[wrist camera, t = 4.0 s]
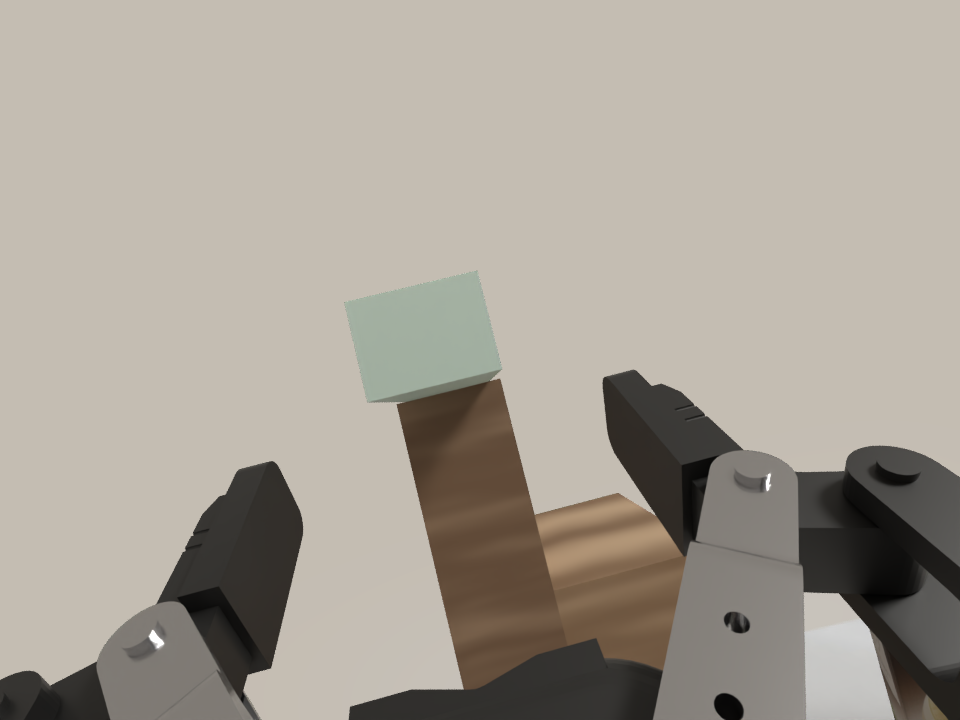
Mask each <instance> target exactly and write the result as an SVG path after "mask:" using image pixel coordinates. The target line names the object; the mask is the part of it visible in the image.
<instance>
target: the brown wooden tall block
mask: <svg viewBox="0 0 960 720" xmlns="http://www.w3.org/2000/svg"><path fill="white" fill-rule="evenodd" d="M397 408H398V412H399V416H400V421H401V425H402V429H403V433H404V437H405V442H406V446H407V450H408V454H409V459H410V463H411V467H412V471H413V475H414V480H415V484H416V488H417V493H418V497H419V501H420V505H421V510H422V514H423V518H424V522H425V527H426V531H427V535H428V539H429V544H430V548H431V552H432V556H433V560H434V565H435V569H436V573H437V578H438V582H439V586H440V590H441V595H442V599H443V603H444V607H445V611H446V616H447V620H448V624H449V628H450V633H451V636H452V641H453V645H454V650H455V654H456V658H457V662H458V667H459V671H460V675H461V679H462V683H463V688H464V690H471V689H477V688H480V687H482V686H484V685H486V684H487V683H489V682H491V681H493V680H494V679H496V678H498V677H499V676H501V675H503V674H504V673H506V672H508V671H510V670H511V669H513V668H515V667H516V666H518V665H520V664H522V663H523V662H525V661H527V660H528V659H530V658H532V657H534V656H535V655H537V654H541V653H544V652H548V651H551V650H555V649H559V648H562V647H566V646H569V645H573V644H576V643H580V642H584V641H587V640H591V639H594V638H597V641H598V644H599V646H600V649H601V651H602V654H603V656H604V658H617V659H625V660H632V661H636V662H640V663H644V664H647V665H650V666H653V667H655V668H658V669H661V670H663V669H664V664H665V659H666V654H667V650H668V645H669V640H670V635H671V630H672V625H673V620H674V616H675V611H676V606H677V601H678V596H679V591H680V586H681V582H682V577H683V572H684V567H685V562H686V557H687V556H685V557H684V556H683V555H682V553H681V552H680V550H679V549H678V547H677V546H676V544H675V543H674V541H673V540H672V538H671V537H670V535H669V534H668V532H667V531H666V529H665V528H664V526H663V525H662V523H661V522H660V520H659V519H658V518H657V516H655V515H653V514H652V513H650V512H648V511H646V510H645V509H643V508H642V507H640V506H639V505H637V504H635V503H634V502H632V501H630V500H629V499H627V498H625V497H624V496H622V495H620V494H619V493H616V494H612V495H609V496H605V497H601V498H597V499H594V500H589V501H586V502H582V503H578V504H574V505H570V506H567V507H563V508H559V509H555V510H551V511H548V512H544V513H540V514H536V515H534V511H533V507H532V503H531V499H530V495H529V491H528V487H527V483H526V479H525V475H524V472H523V467H522V463H521V459H520V455H519V451H518V448H517V444H516V440H515V436H514V432H513V428H512V424H511V420H510V416H509V412H508V408H507V405H506V400H505V396H504V392H503V388H502V384H501V380H500V379H497V380H493V381H489V382H485V383H481V384H477V385H473V386H469V387H465V388H461V389H457V390H452V391H448V392H444V393H440V394H436V395H432V396H428V397H424V398H420V399H416V400H412V401H408V402H404V403H400V404H397Z"/></svg>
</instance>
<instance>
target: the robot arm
mask: <svg viewBox="0 0 960 720" xmlns="http://www.w3.org/2000/svg"><path fill="white" fill-rule="evenodd" d="M603 394H604V403H605V412H606V423H607V431H608V436H609V440H610V443H611V446H612V448H613V451H614V453H615V454H616V456H617V458H618V459H619V460H620V462H621V464H622V465H623V467H624V468H625V469H626V471H627V473H628V474H629V475H630V477H631V479H632V480H633V481H634V483H635V485H636V486H637V488H638V489H639V491H640V492H641V494H642V495H643V496H644V498H645V500H646V501H647V503H648V504H649V506H650V507H651V509H652V510H653V511H654V513H655V515H656V516H657V518H658V519H659V520H660V522H661V523H662V525H663V526H664V528H665V529H666V531H667V532H668V534H669V535H670V537H671V538H672V540H673V541H674V543H675V544H676V546H677V547H678V549H679V550H680V552H681V553H682V555H683V556H684V557H685V556H687V557H686V562H685V567H684V572H683V577H682V582H681V586H680V591H679V596H678V601H677V606H676V611H675V616H674V620H673V625H672V630H671V635H670V640H669V645H668V650H667V654H666V659H665V664H664V669H663V670H661V669H658V668H655V667H653V666H650V665H647V664H644V663H640V662H636V661H632V660H625V659H617V658H604V656H603V654H602V651H601V649H600V646H599V644H598V641H597V638H594V639H591V640H587V641H584V642H580V643H576V644H573V645H569V646H566V647H562V648H559V649H555V650H551V651H548V652H544V653H541V654H537V655H535V656H534V657H532V658H530V659H528V660H527V661H525V662H523V663H522V664H520V665H518V666H516V667H515V668H513V669H511V670H510V671H508V672H506V673H504V674H503V675H501V676H499V677H498V678H496V679H494V680H493V681H491V682H489V683H487V684H486V685H484V686H482V687H480V688H477V689H471V690H409V691H405V692H401V693H398V694H394V695H391V696H387V697H384V698H380V699H377V700H373V701H369V702H366V703H363V704H359V705H355V706H352V707H350V713H349V720H806V694H805V643H804V595H803V594H804V592H813V593H839V594H840V595H841V596H842V598H843V599H844V600H845V601H846V602H847V603H848V604H849V605H850V607H851V608H852V609H853V610H854V611H855V613H856V614H857V615H858V616H859V617H860V618H861V619H862V621H863V622H864V623H865V624H866V625H867V626H868V628H869V629H870V630H871V631H872V632H873V633H874V634H875V636H876V637H877V638H878V639H879V640H880V641H881V643H882V644H883V645H884V646H885V647H886V648H887V649H888V651H889V652H890V653H891V654H892V655H893V656H894V658H895V659H896V660H897V661H898V662H899V663H900V664H901V666H902V667H903V668H904V669H905V670H906V671H907V673H908V674H909V675H910V676H911V677H912V678H913V679H914V681H915V682H916V683H917V684H918V685H919V686H920V688H921V689H922V690H923V691H924V692H925V693H926V694H927V696H928V697H929V698H930V699H931V700H932V701H933V703H934V704H935V705H936V706H937V707H938V708H939V710H940V711H941V712H942V713H943V714H944V715H945V716H946V718H947V719H948V720H960V477H959V476H957V475H955V474H954V473H953V472H951V471H950V470H948V469H947V468H945V467H944V466H942V465H941V464H939V463H938V462H936V461H934V460H933V459H931V458H929V457H927V456H925V455H922V454H920V453H917V452H914V451H911V450H907V449H903V448H898V447H891V446H869V447H864V448H860V449H858V450H855V451H854V452H852V453H851V454H850V455H849V456H848V458H847V461H846V467H845V471H839V472H794V470H793V469H792V468H791V467H790V466H789V465H788V464H787V463H785V462H783V461H782V460H780V459H779V458H777V457H774V456H772V455H769V454H766V453H762V452H757V451H749V450H743V449H742V448H741V447H740V446H739V445H737V443H736V442H734V441H733V440H732V439H731V438H730V437H729V436H728V435H727V434H726V433H725V432H724V431H723V430H721V429H720V428H719V427H718V426H717V425H716V424H715V423H714V422H713V421H712V420H711V419H710V418H709V417H705V414H704V413H703V412H702V411H701V410H700V409H699V408H698V407H697V406H696V407H695V406H694V404H693V403H692V402H691V401H690V400H689V399H688V398H687V397H686V396H684V394H683V393H681V392H680V391H678V390H675V389H673V388H670V387H668V386H666V385H663V384H658V385H654V386H651V385H650V384H649V383H648V382H647V381H646V380H645V379H644V378H643V377H642V376H641V375H640V374H639V373H638V372H637V371H636V370H630V371H626V372H623V373H619V374H615V375H611V376H607V377H604V378H603ZM193 535H194V536H191V538H190V539H189V541H188V543H187V546H186V547H185V549H186V551H185V552H183V553H182V555H181V557H180V559H179V561H178V563H177V565H176V567H175V569H174V571H173V573H172V575H171V576H170V578H169V581H168V582H167V584H166V586H165V588H164V590H163V592H162V594H161V596H160V598H159V600H158V602H157V604H156V605H154V606H151V607H149V608H147V609H145V610H143V611H141V612H140V613H138V614H136V615H135V616H133V617H132V618H131V619H129V620H128V621H127V622H125V623H124V624H123V625H122V626H121V627H120V628H119V629H118V630H117V631H116V632H115V633H114V634H113V635H112V636H111V638H110V639H109V640H108V641H107V643H106V644H105V645H104V647H103V649H102V651H101V652H100V654H99V657H98V660H97V662H95V663H93V664H91V665H89V666H88V667H86V668H84V669H82V670H80V671H78V672H76V673H74V674H72V675H70V676H68V677H66V678H64V679H62V680H60V681H58V682H56V683H55V684H53V685H51V686H50V685H49V684H48V683H47V682H46V681H45V680H44V679H43V678H42V677H41V676H40V675H39V674H38V673H36V672H34V671H23V672H19V673H15V674H13V675H10V676H8V677H5V678H3V679H1V680H0V720H261V719H260V717H259V715H258V713H257V712H256V710H255V708H254V707H253V705H252V703H251V701H250V700H249V698H248V697H247V695H246V694H245V692H244V691H243V689H244V685H245V682H246V678H247V675H248V674H252V673H255V672H259V671H263V670H267V669H270V668H271V666H272V662H273V658H274V654H275V650H276V645H277V641H278V637H279V633H280V629H281V624H282V620H283V616H284V612H285V608H286V603H287V599H288V595H289V591H290V587H291V583H292V578H293V574H294V570H295V566H296V561H297V557H298V553H299V549H300V545H301V541H302V536H303V522H302V517H301V513H300V510H299V508H298V506H297V504H296V502H295V500H294V498H293V495H292V493H291V492H290V489H289V487H288V485H287V483H286V481H285V479H284V477H283V475H282V473H281V471H280V469H279V467H278V465H277V464H276V463H275V462H273V461H271V462H266V463H262V464H258V465H254V466H250V467H246V468H242V469H239V470H238V471H237V473H236V474H235V477H234V479H233V481H232V483H231V485H230V487H229V489H228V491H227V493H226V495H223V496H220V497H218V498H217V499H216V501H215V502H214V503H213V504H212V505H211V506H210V507H209V508H208V509H207V510H206V511H205V512H204V513H203V514H202V516H201V518H200V520H199V522H198V524H197V526H196V528H195V530H194V532H193Z"/></svg>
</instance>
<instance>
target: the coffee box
mask: <svg viewBox="0 0 960 720" xmlns="http://www.w3.org/2000/svg"><path fill="white" fill-rule="evenodd" d="M870 632H871V636H872V639H873V643H874V646H875V650H876V653H877V657H878V661H879V664H880V668H881V671H882V675H883V679H884V682H885V686H886V689H887V693H888V696H889V700H890V704H891V707H892V711H893V714H894V718H895V720H948V719H947V718H946V716H945V715H944V714H943V713H942V712H941V711H940V710H939V708H938V707H937V706H936V705H935V704H934V703H933V701H932V700H931V699H930V698H929V697H928V696H927V694H926V693H925V692H924V691H923V690H922V689H921V688H920V686H919V685H918V684H917V683H916V682H915V681H914V679H913V678H912V677H911V676H910V675H909V674H908V673H907V671H906V670H905V669H904V668H903V667H902V666H901V664H900V663H899V662H898V661H897V660H896V659H895V658H894V656H893V655H892V654H891V653H890V652H889V651H888V649H887V648H886V647H885V646H884V645H883V644H882V643H881V641H880V640H879V639H878V638H877V637H876V636H875V634H874V633H873V632H872V631H871V630H870Z"/></svg>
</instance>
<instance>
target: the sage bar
mask: <svg viewBox="0 0 960 720" xmlns="http://www.w3.org/2000/svg"><path fill="white" fill-rule="evenodd" d="M344 303H345V308H346V312H347V316H348V321H349V325H350V329H351V334H352V338H353V342H354V347H355V351H356V355H357V360H358V364H359V368H360V373H361V377H362V381H363V385H364V390H365V394H366V399H367V402H408V401H412V400H416V399H420V398H424V397H428V396H432V395H436V394H440V393H444V392H448V391H452V390H457V389H461V388H465V387H469V386H473V385H477V384H481V383H485V382H489V381H490V380H491V379H492V378H493V377H494V376H495V375H496V374H497V373H498V372H499V371H501V370H502V367H501V362H500V358H499V354H498V351H497V347H496V343H495V339H494V335H493V331H492V327H491V323H490V319H489V315H488V312H487V307H486V303H485V299H484V296H483V291H482V288H481V283H480V280H479V276H478V272H477V271H474V272H469V273H466V274H461V275H457V276H453V277H449V278H444V279H441V280H436V281H432V282H427V283H423V284H420V285H415V286H411V287H406V288H402V289H398V290H394V291H390V292H386V293H381V294H377V295H373V296H369V297H364V298H360V299H356V300H352V301H348V302H344Z"/></svg>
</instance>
